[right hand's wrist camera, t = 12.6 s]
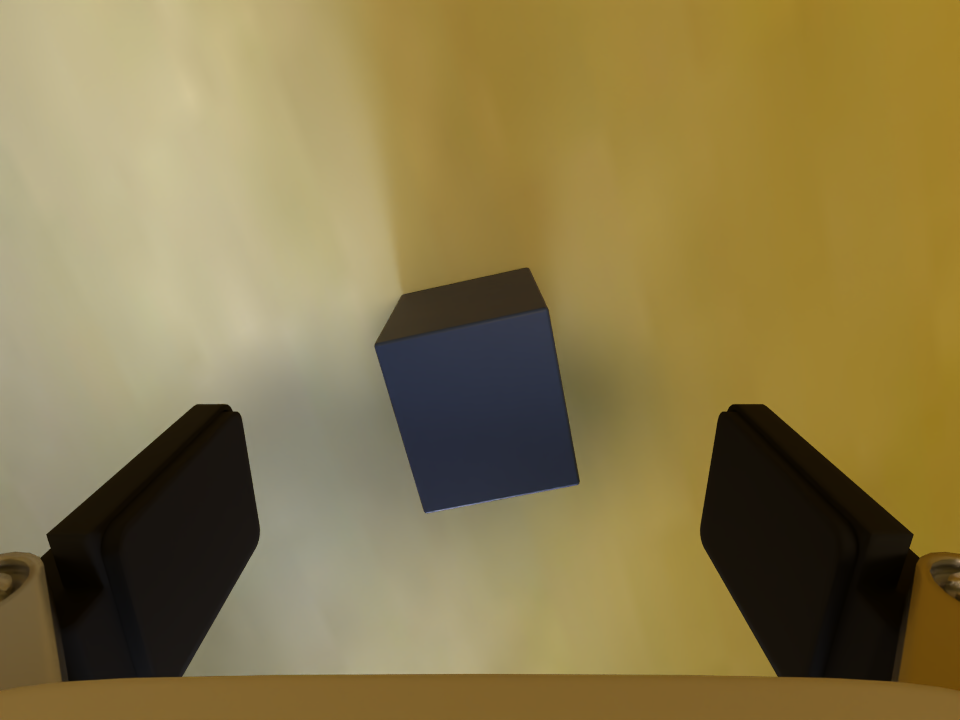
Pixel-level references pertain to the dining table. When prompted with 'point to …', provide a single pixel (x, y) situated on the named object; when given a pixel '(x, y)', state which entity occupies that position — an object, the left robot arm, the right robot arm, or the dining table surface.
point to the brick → (478, 391)
